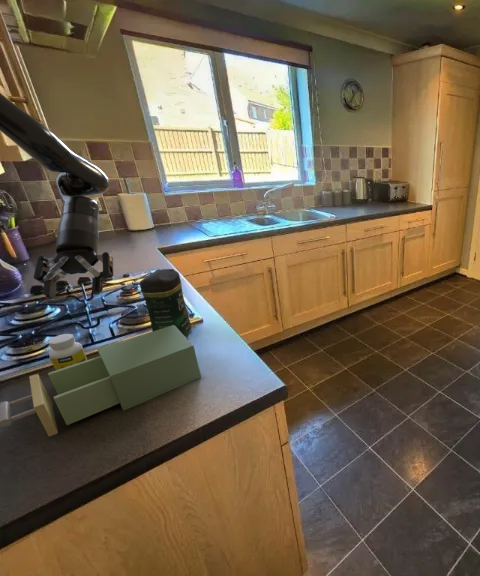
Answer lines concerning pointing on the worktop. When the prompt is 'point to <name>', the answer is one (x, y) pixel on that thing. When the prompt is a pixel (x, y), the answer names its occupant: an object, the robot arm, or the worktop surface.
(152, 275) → the coffee jar
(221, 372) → the worktop surface
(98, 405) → the drawer
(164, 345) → the cabinet
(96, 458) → the worktop surface
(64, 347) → the supplement bottle
